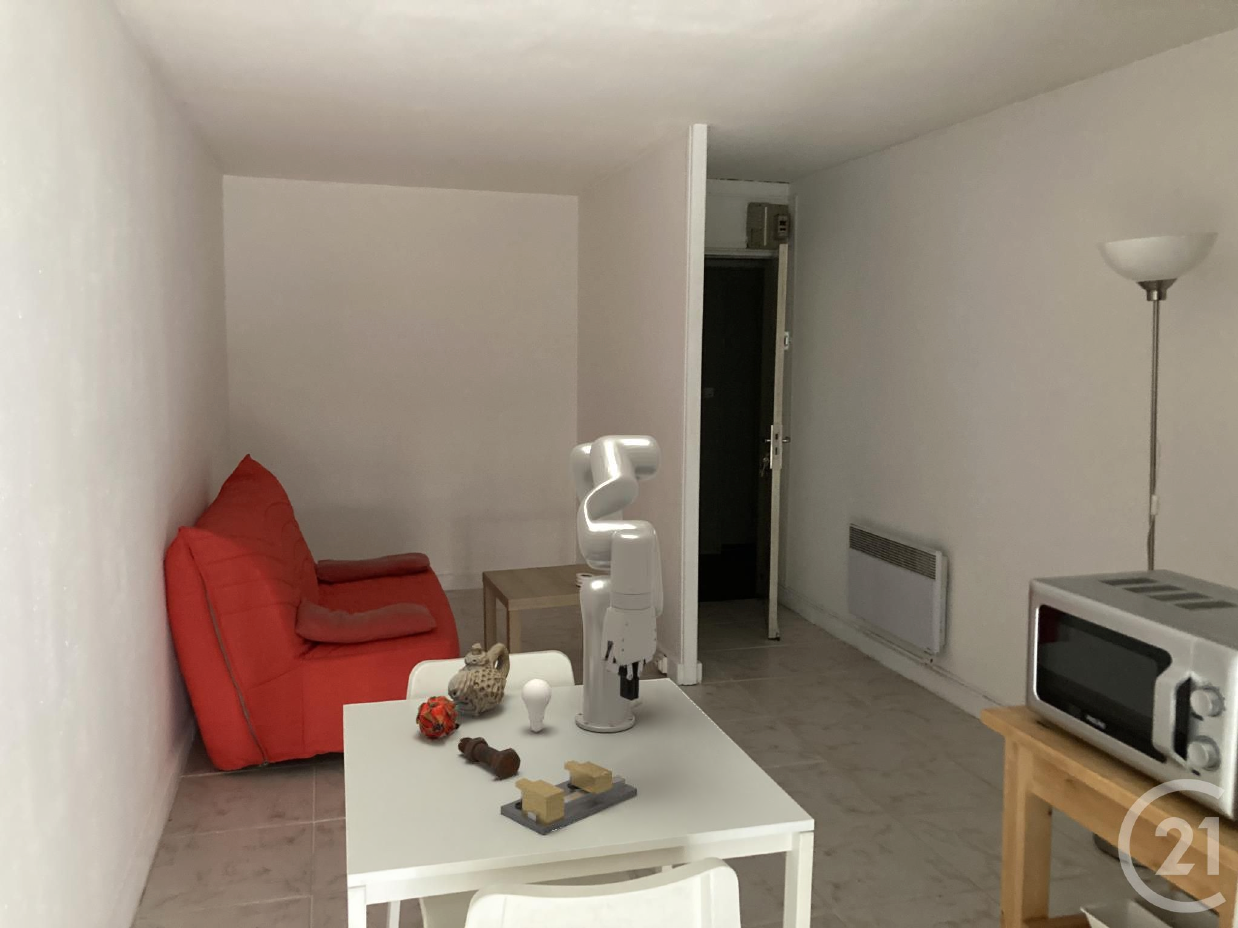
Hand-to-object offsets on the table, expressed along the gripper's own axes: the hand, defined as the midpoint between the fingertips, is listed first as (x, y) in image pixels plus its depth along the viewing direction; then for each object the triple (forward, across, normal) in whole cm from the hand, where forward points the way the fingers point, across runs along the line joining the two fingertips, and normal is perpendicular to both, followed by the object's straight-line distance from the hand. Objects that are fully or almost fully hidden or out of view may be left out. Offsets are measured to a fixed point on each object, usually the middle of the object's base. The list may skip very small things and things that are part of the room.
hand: (629, 697), depth 183 cm
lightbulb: (+18, -4, -30) cm, 36 cm away
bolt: (+17, +14, -24) cm, 33 cm away
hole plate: (+16, +14, 0) cm, 21 cm away
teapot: (+18, -3, -48) cm, 52 cm away
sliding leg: (+14, +10, 0) cm, 18 cm away
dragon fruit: (+18, +12, -42) cm, 48 cm away
